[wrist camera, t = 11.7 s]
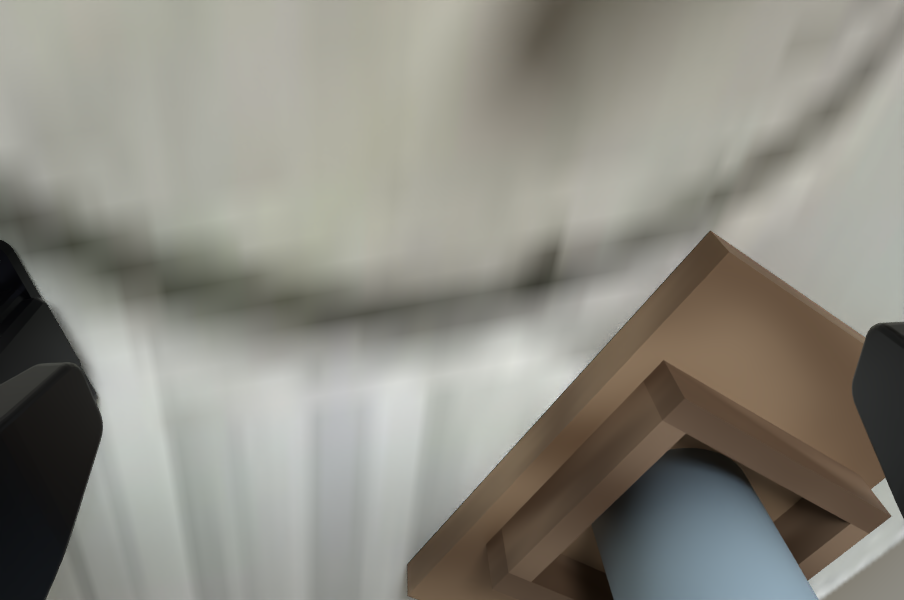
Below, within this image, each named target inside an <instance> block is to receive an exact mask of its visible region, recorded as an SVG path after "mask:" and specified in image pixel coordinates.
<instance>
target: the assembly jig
mask: <svg viewBox="0 0 904 600" xmlns="http://www.w3.org/2000/svg"><path fill="white" fill-rule="evenodd" d="M864 341H865V337H864V336H862V335H861V334H859V333H858V332H856V331H855V330H853V329H852V328H851V327H849V326H848V325H846V324H845V323H843V322H842V321H840V320H839V319H838V318H836V317H835V316H833V315H832V314H830V313H829V312H827V311H826V310H824V309H823V308H822V307H820V306H819V305H817V304H816V303H814V302H813V301H811V300H810V299H809V298H807V297H806V296H804V295H803V294H801V293H800V292H798V291H797V290H796V289H794V288H793V287H791V286H790V285H788V284H787V283H785V282H784V281H782V280H781V279H780V278H778V277H777V276H775V275H774V274H772V273H771V272H769V271H768V270H767V269H765V268H764V267H762V266H761V265H759V264H758V263H756V262H755V261H753V260H752V259H751V258H749V257H748V256H746V255H745V254H743V253H742V252H740V251H739V250H738V249H736V248H735V247H733V246H732V245H730V244H729V243H727V242H726V241H725V240H723V239H722V238H720V237H719V236H717V235H716V234H714V233H713V232H711V231H710V232H709V233H708V234H707V235H706V236H705V237H704V238H703V240H702V241H701V242H700V243H699V244H698V245H697V246H696V247H695V248H694V249H693V251H692V252H691V253H690V254H689V255H688V256H687V257H686V258H685V259H684V260H683V262H682V263H681V264H680V265H679V266H678V267H677V268H676V269H675V270H674V271H673V273H672V274H671V275H670V276H669V277H668V278H667V279H666V280H665V281H664V283H663V284H662V285H661V286H660V287H659V288H658V289H657V290H656V291H655V292H654V294H653V295H652V296H651V297H650V298H649V299H648V300H647V301H646V302H645V303H644V305H643V306H642V307H641V308H640V309H639V310H638V311H637V312H636V313H635V314H634V316H633V317H632V318H631V319H630V320H629V321H628V322H627V323H626V324H625V325H624V327H623V328H622V329H621V330H620V331H619V332H618V333H617V334H616V335H615V336H614V338H613V339H612V340H611V341H610V342H609V343H608V344H607V345H606V346H605V347H604V349H603V350H602V351H601V352H600V353H599V354H598V355H597V356H596V357H595V358H594V360H593V361H592V362H591V363H590V364H589V365H588V366H587V367H586V368H585V369H584V371H583V372H582V373H581V374H580V375H579V376H578V377H577V378H576V379H575V380H574V382H573V383H572V384H571V385H570V386H569V387H568V388H567V389H566V390H565V391H564V393H563V394H562V395H561V396H560V397H559V398H558V399H557V400H556V401H555V402H554V404H553V405H552V406H551V407H550V408H549V409H548V410H547V411H546V412H545V413H544V415H543V416H542V417H541V418H540V419H539V420H538V421H537V422H536V423H535V424H534V426H533V427H532V428H531V429H530V430H529V431H528V432H527V433H526V434H525V435H524V437H523V438H522V439H521V440H520V441H519V442H518V443H517V444H516V445H515V446H514V448H513V449H512V450H511V451H510V452H509V453H508V454H507V455H506V456H505V457H504V459H503V460H502V461H501V462H500V463H499V464H498V465H497V466H496V467H495V468H494V470H493V471H492V472H491V473H490V474H489V475H488V476H487V477H486V478H485V479H484V481H483V482H482V483H481V484H480V485H479V486H478V487H477V488H476V489H475V490H474V492H473V493H472V494H471V495H470V496H469V497H468V498H467V499H466V500H465V501H464V503H463V504H462V505H461V506H460V507H459V508H458V509H457V510H456V511H455V512H454V514H453V515H452V516H451V517H450V518H449V519H448V520H447V521H446V522H445V523H444V525H443V526H442V527H441V528H440V529H439V530H438V531H437V532H436V533H435V534H434V536H433V537H432V538H431V539H430V540H429V541H428V542H427V543H426V544H425V546H424V547H423V548H422V549H421V550H420V551H419V552H418V553H417V554H416V555H415V557H414V558H413V559H412V560H411V561H410V562H409V563H408V564H407V588H408V596H410V597H412V598H415V599H418V600H614V599H613V595H612V592H611V589H610V586H609V582H608V579H607V576H606V572H605V569H604V566H603V562H602V559H601V556H600V552H599V549H598V546H597V542H596V539H595V536H594V532H593V529H592V523H593V522H594V521H595V520H596V519H597V518H598V517H599V516H600V515H601V514H602V513H604V512H605V511H606V510H607V509H608V508H609V507H610V506H611V505H612V504H613V503H614V502H615V501H616V500H617V499H618V498H619V497H620V496H621V495H622V494H623V493H624V492H625V491H626V490H627V489H629V488H630V487H631V486H632V485H633V484H634V483H635V482H636V481H637V480H638V479H639V478H640V477H641V476H642V475H643V474H644V473H645V472H646V471H647V470H648V469H649V468H650V467H651V466H652V465H654V464H655V463H656V462H657V461H658V460H659V459H660V458H661V457H662V456H663V455H664V454H665V453H666V452H667V451H668V450H670V449H678V448H698V449H706V450H710V451H714V452H717V453H719V454H722V455H724V456H726V457H728V458H730V459H731V460H732V461H734V462H735V463H736V464H737V465H738V466H739V467H740V468H741V469H742V470H743V472H744V474H745V475H746V477H747V478H748V480H749V482H750V484H751V485H752V487H753V489H754V490H755V492H756V494H757V496H758V497H759V499H760V501H761V502H762V504H763V506H764V507H765V509H766V511H767V513H768V514H769V516H770V518H771V519H772V521H773V523H774V524H775V526H776V528H777V530H778V531H779V533H780V535H781V536H782V538H783V540H784V542H785V543H786V545H787V547H788V548H789V550H790V552H791V553H792V555H793V557H794V559H795V560H796V562H797V564H798V565H799V567H800V569H801V570H802V572H803V574H804V576H805V577H806V579H807V581H808V580H809V579H811V578H812V577H813V576H814V575H816V574H817V573H818V572H820V571H821V570H822V569H824V568H825V567H826V566H827V565H829V564H830V563H831V562H833V561H834V560H835V559H837V558H838V557H839V556H840V555H842V554H843V553H844V552H846V551H847V550H848V549H850V548H851V547H852V546H853V545H855V544H856V543H857V542H859V541H860V540H861V539H863V538H864V537H865V536H866V535H868V534H869V533H870V532H872V531H873V530H874V529H876V528H877V527H878V526H879V525H881V524H882V523H883V522H885V521H886V520H887V519H889V518H890V517H891V515H890V514H889V512H888V511H887V510H886V508H885V507H884V506H883V505H882V503H881V502H880V501H879V499H878V498H877V497H876V496H875V494H874V493H873V492H872V490H871V489H872V488H873V487H874V486H876V485H877V484H878V483H879V482H881V481H882V480H883V479H884V478H886V477H885V475H884V473H883V470H882V468H881V465H880V463H879V461H878V458H877V456H876V454H875V451H874V449H873V446H872V444H871V442H870V439H869V437H868V435H867V432H866V430H865V427H864V425H863V423H862V420H861V418H860V416H859V413H858V411H857V408H856V406H855V403H854V400H853V396H852V381H853V377H854V374H855V370H856V367H857V364H858V361H859V357H860V354H861V351H862V348H863V344H864Z"/></svg>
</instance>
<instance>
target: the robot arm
mask: <svg viewBox="0 0 904 600" xmlns="http://www.w3.org/2000/svg"><path fill="white" fill-rule="evenodd" d="M80 366H81V363H80V361H79V359H78V357H77V356H76V354H75V352H74V350H73V349H72V347H71V345H70V344H69V342H68V340H67V338H66V337H65V335H64V333H63V331H62V330H61V328H60V326H59V324H58V323H57V321H56V319H55V317H54V316H53V314H52V312H51V310H50V309H49V307H48V305H47V304H46V302H44V301H43V300H42V299H41V297H40V295H39V294H38V292H37V290H36V288H35V287H34V285H33V283H32V281H31V280H30V278H29V276H28V274H27V273H26V271H25V269H24V267H23V266H22V264H21V262H20V260H19V259H18V257H17V255H16V254H15V252H14V250H13V249H12V248H11V246H10V245H9V244H7V243H6V242H4V241H2V240H0V600H46V597H47V595H48V593H49V590H50V588H51V586H52V583H53V581H54V579H55V577H56V574H57V572H58V569H59V567H60V564H61V562H62V559H63V557H64V554H65V551H66V549H67V546H68V543H69V540H70V537H71V534H72V531H73V528H74V525H75V521H76V518H77V515H78V512H79V508H80V505H81V502H82V499H83V496H84V492H85V489H86V486H87V483H88V479H89V476H90V473H91V470H92V467H93V463H94V460H95V457H96V454H97V450H98V447H99V444H100V441H101V437H102V431H103V422H102V417H101V413H100V411H99V409H98V406H97V404H96V402H97V395H96V393H95V391H94V389H93V387H92V386H91V384H90V382H89V380H88V379H87V377H86V375H85V373H84V372H83V370H82V368H81V367H80ZM852 396H853V400H854V403H855V406H856V408H857V411H858V413H859V416H860V418H861V420H862V423H863V425H864V427H865V430H866V432H867V435H868V437H869V439H870V442H871V444H872V446H873V449H874V451H875V454H876V456H877V458H878V461H879V463H880V465H881V468H882V470H883V473H884V475H885V477H886V480H887V482H888V484H889V487H890V489H891V492H892V494H893V496H894V499H895V501H896V503H897V505H898V507H899V510H900V512H901V514H902V516H903V518H904V322H889V323H878V324H876V325H874V326H872V327H871V328H870V330H869V331H868V333H867V335H866V338H865V341H864V344H863V348H862V351H861V354H860V357H859V361H858V364H857V367H856V370H855V374H854V377H853V381H852Z"/></svg>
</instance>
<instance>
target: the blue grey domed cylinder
mask: <svg viewBox="0 0 904 600" xmlns="http://www.w3.org/2000/svg"><path fill="white" fill-rule="evenodd" d="M592 529H593V532H594V536H595V539H596V542H597V546H598V549H599V552H600V556H601V559H602V562H603V566H604V569H605V572H606V576H607V579H608V582H609V586H610V589H611V592H612V595H613V599H614V600H819V599H818V598H817V596H816V594H815V593H814V591H813V589H812V588H811V586H810V584H809V582H808V581H807V579H806V577H805V576H804V574H803V572H802V570H801V569H800V567H799V565H798V564H797V562H796V560H795V559H794V557H793V555H792V553H791V552H790V550H789V548H788V547H787V545H786V543H785V542H784V540H783V538H782V536H781V535H780V533H779V531H778V530H777V528H776V526H775V524H774V523H773V521H772V519H771V518H770V516H769V514H768V513H767V511H766V509H765V507H764V506H763V504H762V502H761V501H760V499H759V497H758V496H757V494H756V492H755V490H754V489H753V487H752V485H751V484H750V482H749V480H748V478H747V477H746V475H745V474H744V472H743V470H742V469H741V468H740V467H739V466H738V465H737V464H736V463H735V462H734V461H732V460H731V459H730V458H728V457H726V456H724V455H722V454H719V453H717V452H714V451H710V450H706V449H698V448H678V449H670V450H668V451H667V452H666V453H665V454H664V455H663V456H662V457H661V458H660V459H659V460H658V461H657V462H656V463H655V464H654V465H652V466H651V467H650V468H649V469H648V470H647V471H646V472H645V473H644V474H643V475H642V476H641V477H640V478H639V479H638V480H637V481H636V482H635V483H634V484H633V485H632V486H631V487H630V488H629V489H627V490H626V491H625V492H624V493H623V494H622V495H621V496H620V497H619V498H618V499H617V500H616V501H615V502H614V503H613V504H612V505H611V506H610V507H609V508H608V509H607V510H606V511H605V512H604V513H602V514H601V515H600V516H599V517H598V518H597V519H596V520H595V521H594V522H593V523H592Z"/></svg>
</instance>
